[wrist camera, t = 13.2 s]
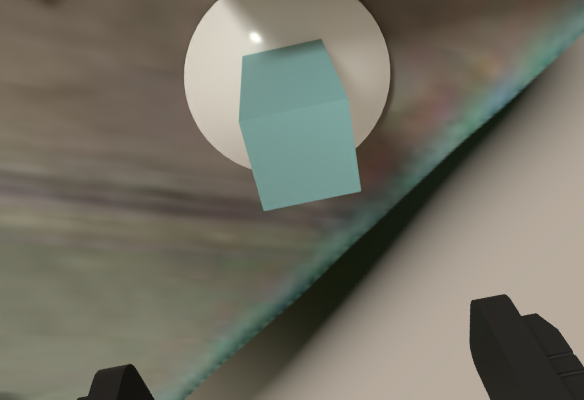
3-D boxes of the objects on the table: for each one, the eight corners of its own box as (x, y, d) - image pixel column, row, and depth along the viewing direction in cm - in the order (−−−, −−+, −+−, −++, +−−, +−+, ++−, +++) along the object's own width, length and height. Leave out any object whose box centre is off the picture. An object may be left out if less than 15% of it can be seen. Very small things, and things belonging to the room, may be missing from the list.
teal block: (242, 56, 27) (238, 122, 19) (321, 38, 27) (348, 98, 19) (260, 127, 29) (263, 211, 22) (333, 112, 29) (361, 191, 22)
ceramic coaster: (155, -2, 26) (153, 1, 25) (378, -50, 25) (381, -49, 24) (217, 186, 32) (216, 190, 32) (394, 150, 32) (396, 155, 31)
